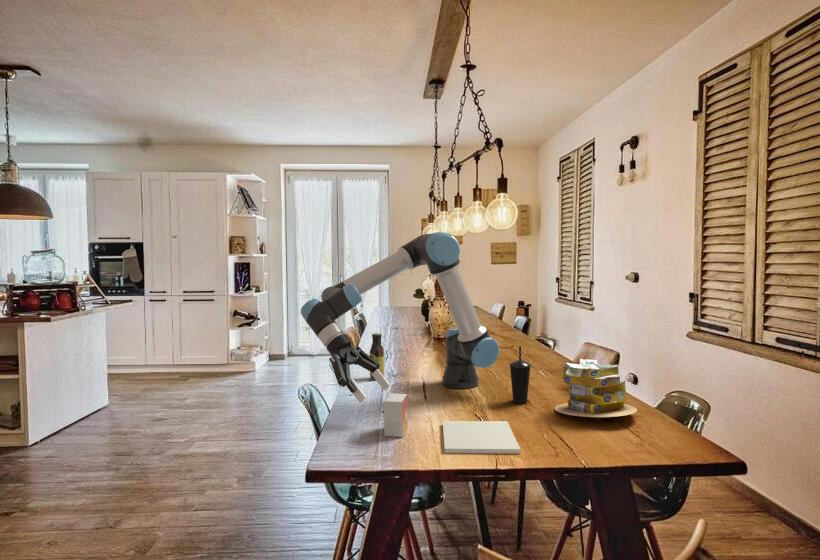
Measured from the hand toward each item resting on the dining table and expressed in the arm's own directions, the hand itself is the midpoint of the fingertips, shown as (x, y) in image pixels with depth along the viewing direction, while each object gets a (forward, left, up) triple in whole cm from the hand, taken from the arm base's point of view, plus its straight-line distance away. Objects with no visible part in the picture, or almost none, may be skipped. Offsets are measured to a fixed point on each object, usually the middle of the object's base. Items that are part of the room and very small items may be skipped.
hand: (375, 393), depth 135 cm
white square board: (-17, +26, -11) cm, 33 cm away
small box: (-3, +6, -11) cm, 13 cm away
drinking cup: (-53, +16, -11) cm, 56 cm away
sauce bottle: (-35, -44, -11) cm, 57 cm away
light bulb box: (-85, +26, -11) cm, 90 cm away
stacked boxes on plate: (-60, +40, -11) cm, 73 cm away
